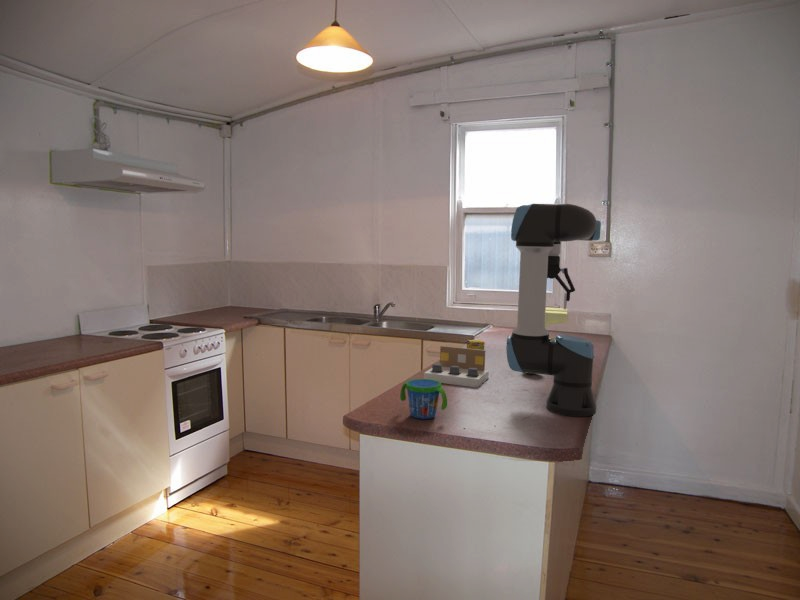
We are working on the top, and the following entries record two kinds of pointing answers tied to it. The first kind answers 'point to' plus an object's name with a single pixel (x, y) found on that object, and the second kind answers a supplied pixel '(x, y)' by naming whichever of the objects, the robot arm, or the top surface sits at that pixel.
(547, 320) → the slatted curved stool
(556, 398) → the robot arm
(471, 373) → the button right
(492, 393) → the top surface
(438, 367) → the button left
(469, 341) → the supplement box
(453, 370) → the button middle
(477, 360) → the button panel
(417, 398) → the snack cup
